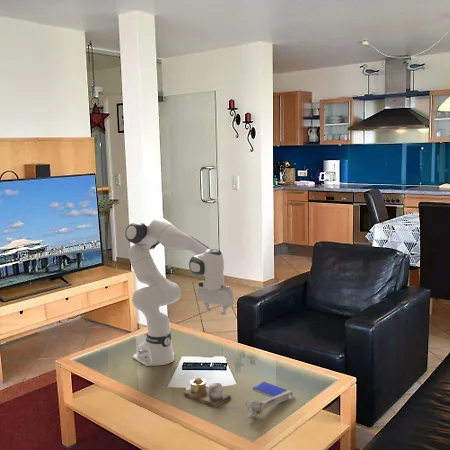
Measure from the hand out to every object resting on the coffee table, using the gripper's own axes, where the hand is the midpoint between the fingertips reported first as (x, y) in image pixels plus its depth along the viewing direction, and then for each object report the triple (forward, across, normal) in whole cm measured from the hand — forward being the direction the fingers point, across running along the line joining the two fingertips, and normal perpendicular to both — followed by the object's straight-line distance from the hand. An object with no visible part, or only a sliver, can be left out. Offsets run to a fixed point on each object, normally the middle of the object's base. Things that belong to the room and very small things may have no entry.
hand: (215, 312), depth 254 cm
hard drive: (+30, -32, +2) cm, 44 cm away
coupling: (+27, -9, +23) cm, 37 cm away
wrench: (+29, -42, +15) cm, 53 cm away
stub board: (+29, -14, +23) cm, 39 cm away
